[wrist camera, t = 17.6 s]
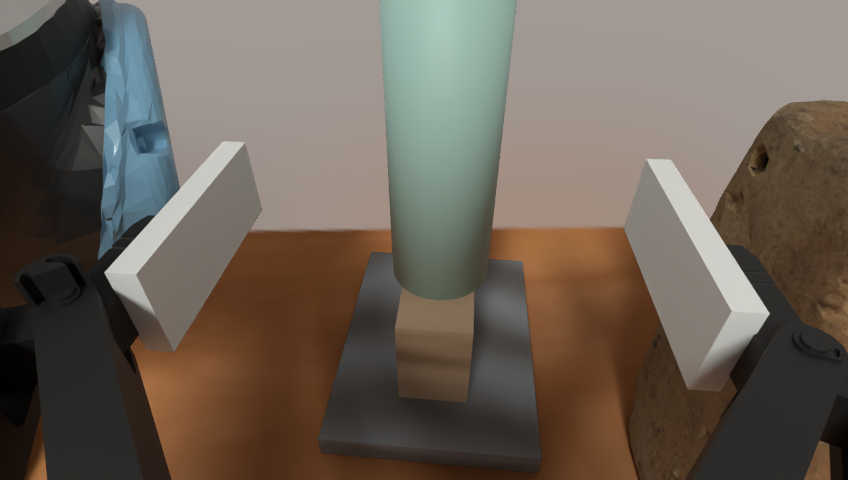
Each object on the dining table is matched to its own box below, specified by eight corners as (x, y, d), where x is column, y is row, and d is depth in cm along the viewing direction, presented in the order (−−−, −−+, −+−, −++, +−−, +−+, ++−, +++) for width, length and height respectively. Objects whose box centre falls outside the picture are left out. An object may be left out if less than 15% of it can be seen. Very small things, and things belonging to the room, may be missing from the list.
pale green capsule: (380, 289, 27) (349, -111, 16) (408, 231, 31) (400, -117, 20) (478, 308, 26) (519, -108, 15) (494, 246, 30) (536, -116, 19)
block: (612, 399, 30) (745, 79, 18) (738, 408, 30) (966, 86, 17) (666, 612, 22) (994, 284, 9) (844, 630, 21) (1445, 309, 9)
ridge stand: (537, 473, 26) (561, 391, 22) (321, 453, 27) (300, 370, 23) (519, 275, 39) (533, 196, 34) (372, 266, 40) (365, 188, 35)
